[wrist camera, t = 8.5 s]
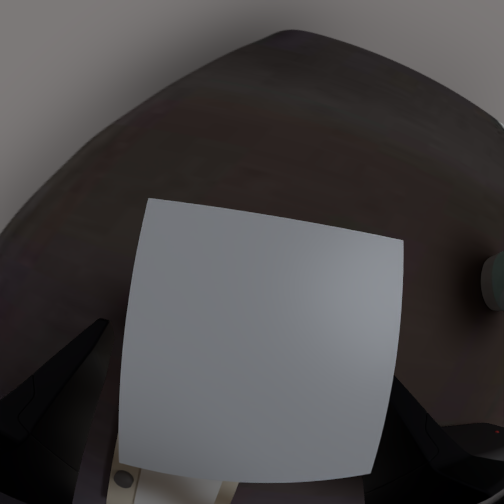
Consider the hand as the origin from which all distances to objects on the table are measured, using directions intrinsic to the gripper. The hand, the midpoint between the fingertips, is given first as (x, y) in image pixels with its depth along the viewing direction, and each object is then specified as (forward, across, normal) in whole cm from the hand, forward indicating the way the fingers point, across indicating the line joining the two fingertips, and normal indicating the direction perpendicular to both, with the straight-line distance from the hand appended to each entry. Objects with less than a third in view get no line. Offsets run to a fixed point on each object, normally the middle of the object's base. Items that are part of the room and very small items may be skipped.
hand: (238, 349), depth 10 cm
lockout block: (+6, 0, +6) cm, 8 cm away
